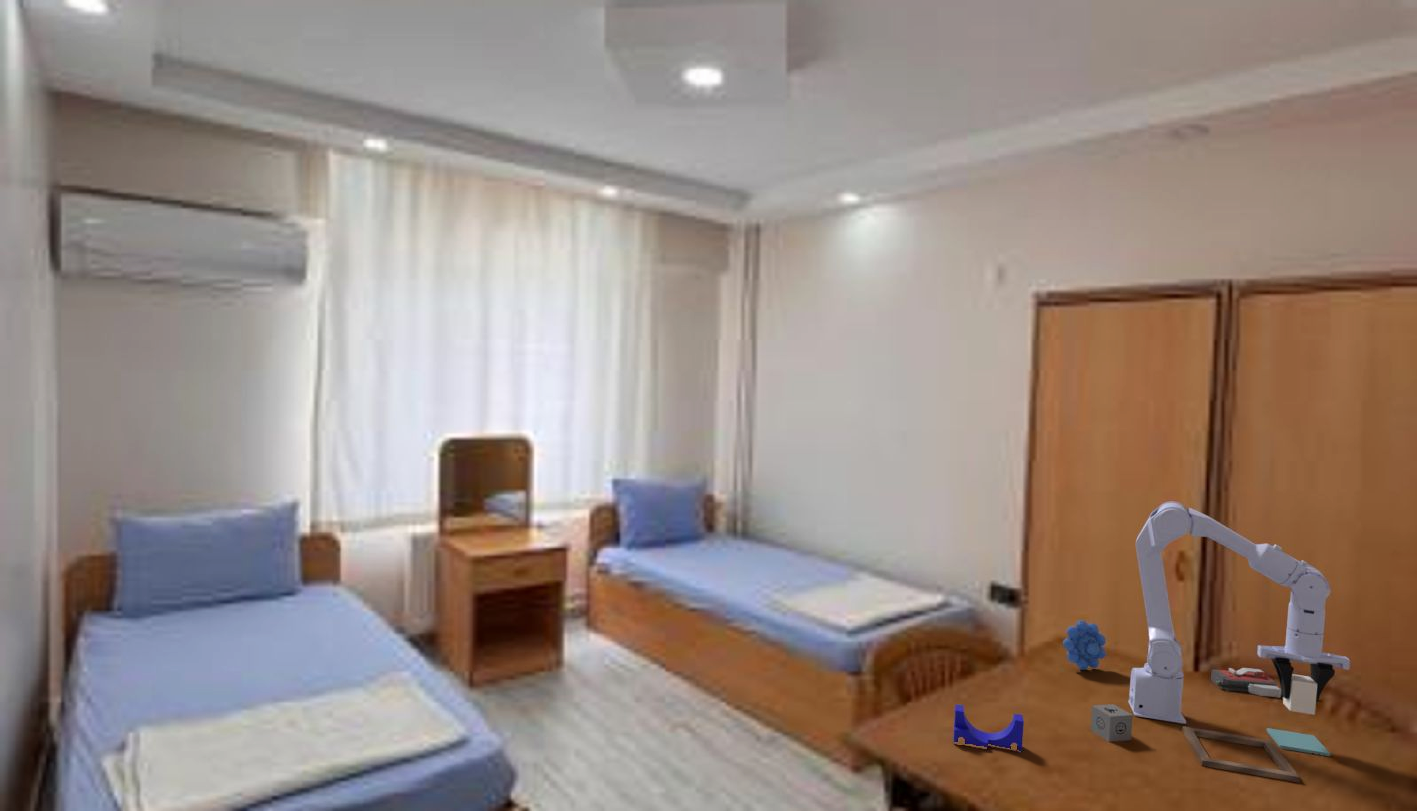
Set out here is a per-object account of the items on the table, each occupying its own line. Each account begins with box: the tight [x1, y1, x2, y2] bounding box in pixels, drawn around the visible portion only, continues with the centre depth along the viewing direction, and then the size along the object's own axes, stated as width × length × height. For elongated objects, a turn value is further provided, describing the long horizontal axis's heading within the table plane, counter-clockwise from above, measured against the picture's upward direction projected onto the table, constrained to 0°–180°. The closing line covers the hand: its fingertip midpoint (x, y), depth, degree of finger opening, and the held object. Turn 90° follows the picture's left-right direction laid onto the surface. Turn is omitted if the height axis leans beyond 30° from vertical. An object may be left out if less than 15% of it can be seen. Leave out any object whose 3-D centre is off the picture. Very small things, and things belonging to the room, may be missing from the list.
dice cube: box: [1090, 703, 1134, 743], centre depth 157 cm, size 5×5×5 cm
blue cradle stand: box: [953, 703, 1025, 752], centre depth 151 cm, size 12×4×6 cm, turn 73°
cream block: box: [1282, 673, 1317, 716], centre depth 156 cm, size 4×4×6 cm
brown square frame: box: [1182, 726, 1301, 784], centre depth 151 cm, size 15×15×1 cm
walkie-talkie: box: [1210, 667, 1282, 699], centre depth 184 cm, size 9×4×20 cm
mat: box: [1266, 727, 1331, 757], centre depth 157 cm, size 8×8×1 cm
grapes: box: [1062, 619, 1107, 671], centre depth 191 cm, size 12×7×12 cm, turn 104°
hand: (1299, 698), depth 157 cm, fingers closed on cream block, 4 cm apart
